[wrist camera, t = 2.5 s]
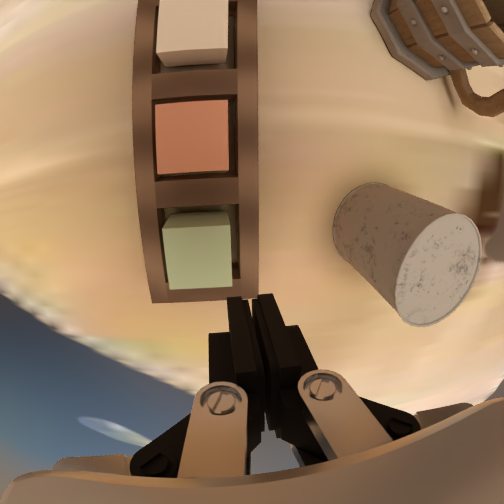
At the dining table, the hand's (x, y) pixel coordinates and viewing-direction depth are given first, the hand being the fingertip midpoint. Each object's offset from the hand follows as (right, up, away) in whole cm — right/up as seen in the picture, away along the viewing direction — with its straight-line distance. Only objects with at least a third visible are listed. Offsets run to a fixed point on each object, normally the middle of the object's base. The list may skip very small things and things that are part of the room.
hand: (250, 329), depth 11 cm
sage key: (-4, +4, +15) cm, 16 cm away
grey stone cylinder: (+13, +6, +19) cm, 24 cm away
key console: (-5, +13, +14) cm, 20 cm away
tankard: (+21, +26, +13) cm, 35 cm away
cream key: (-5, +21, +9) cm, 23 cm away
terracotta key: (-5, +12, +12) cm, 18 cm away
